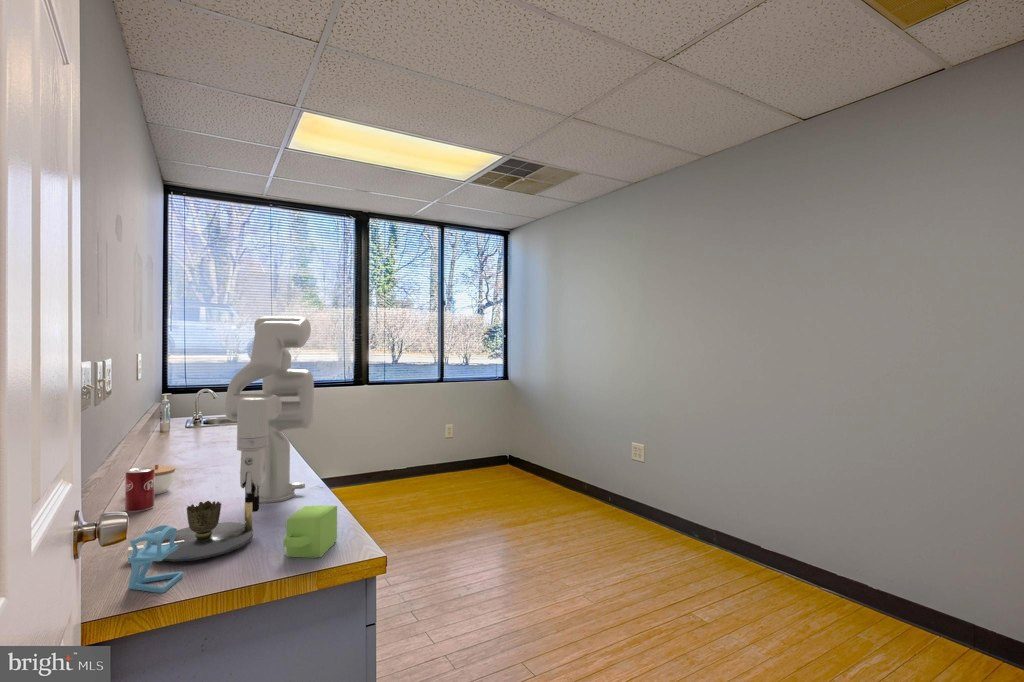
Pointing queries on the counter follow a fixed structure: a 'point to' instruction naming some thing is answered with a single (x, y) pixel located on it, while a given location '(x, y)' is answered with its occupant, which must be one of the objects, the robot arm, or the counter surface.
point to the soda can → (139, 489)
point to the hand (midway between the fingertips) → (252, 511)
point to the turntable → (211, 540)
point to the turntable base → (130, 550)
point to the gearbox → (311, 531)
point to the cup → (203, 518)
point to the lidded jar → (163, 478)
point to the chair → (152, 559)
